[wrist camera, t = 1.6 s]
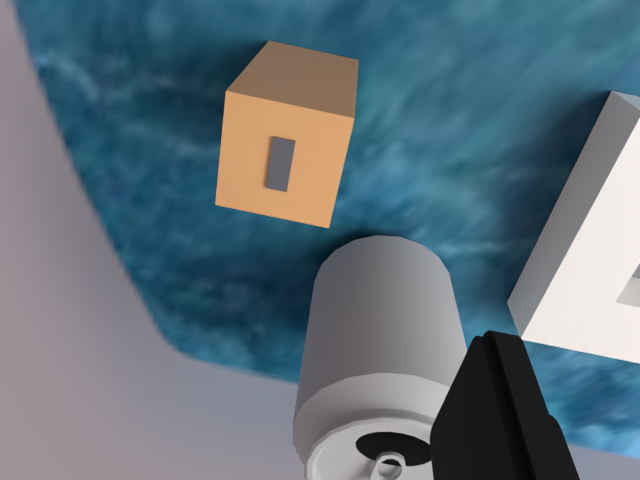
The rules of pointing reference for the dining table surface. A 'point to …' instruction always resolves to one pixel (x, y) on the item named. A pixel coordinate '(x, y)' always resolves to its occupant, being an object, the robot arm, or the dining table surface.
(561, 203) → the outlet plate
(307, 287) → the dining table surface
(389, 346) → the can
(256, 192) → the charger
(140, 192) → the dining table surface
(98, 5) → the dining table surface
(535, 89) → the dining table surface
